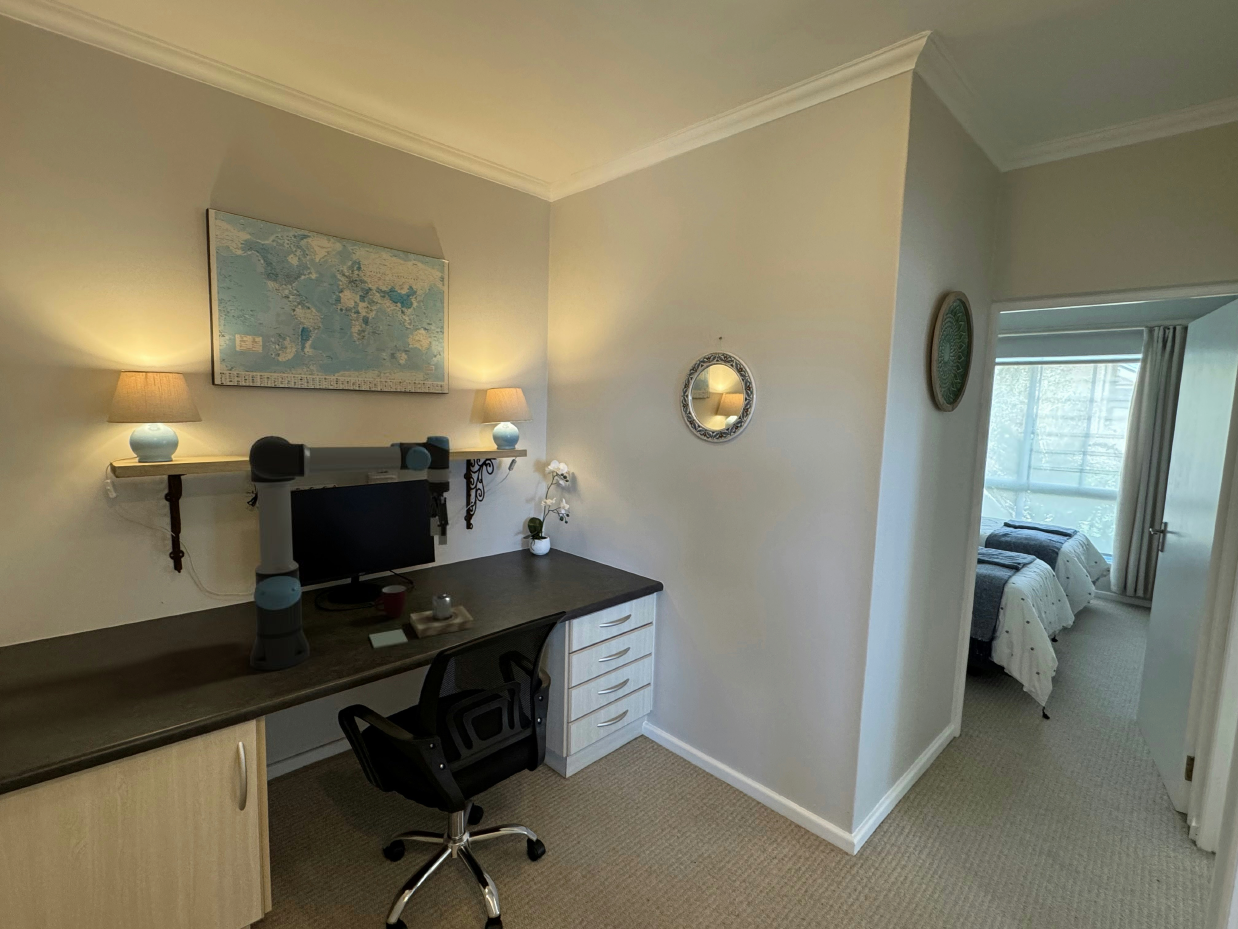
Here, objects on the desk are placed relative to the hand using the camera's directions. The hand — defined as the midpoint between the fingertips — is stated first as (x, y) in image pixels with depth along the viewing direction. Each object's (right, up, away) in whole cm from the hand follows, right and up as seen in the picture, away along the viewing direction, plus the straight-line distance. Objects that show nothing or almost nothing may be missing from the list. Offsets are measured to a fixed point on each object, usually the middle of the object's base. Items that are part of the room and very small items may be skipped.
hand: (438, 539), depth 203 cm
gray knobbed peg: (+3, -29, -5) cm, 29 cm away
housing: (+3, -29, -5) cm, 29 cm away
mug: (-17, -28, +1) cm, 32 cm away
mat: (-11, -30, -18) cm, 36 cm away
